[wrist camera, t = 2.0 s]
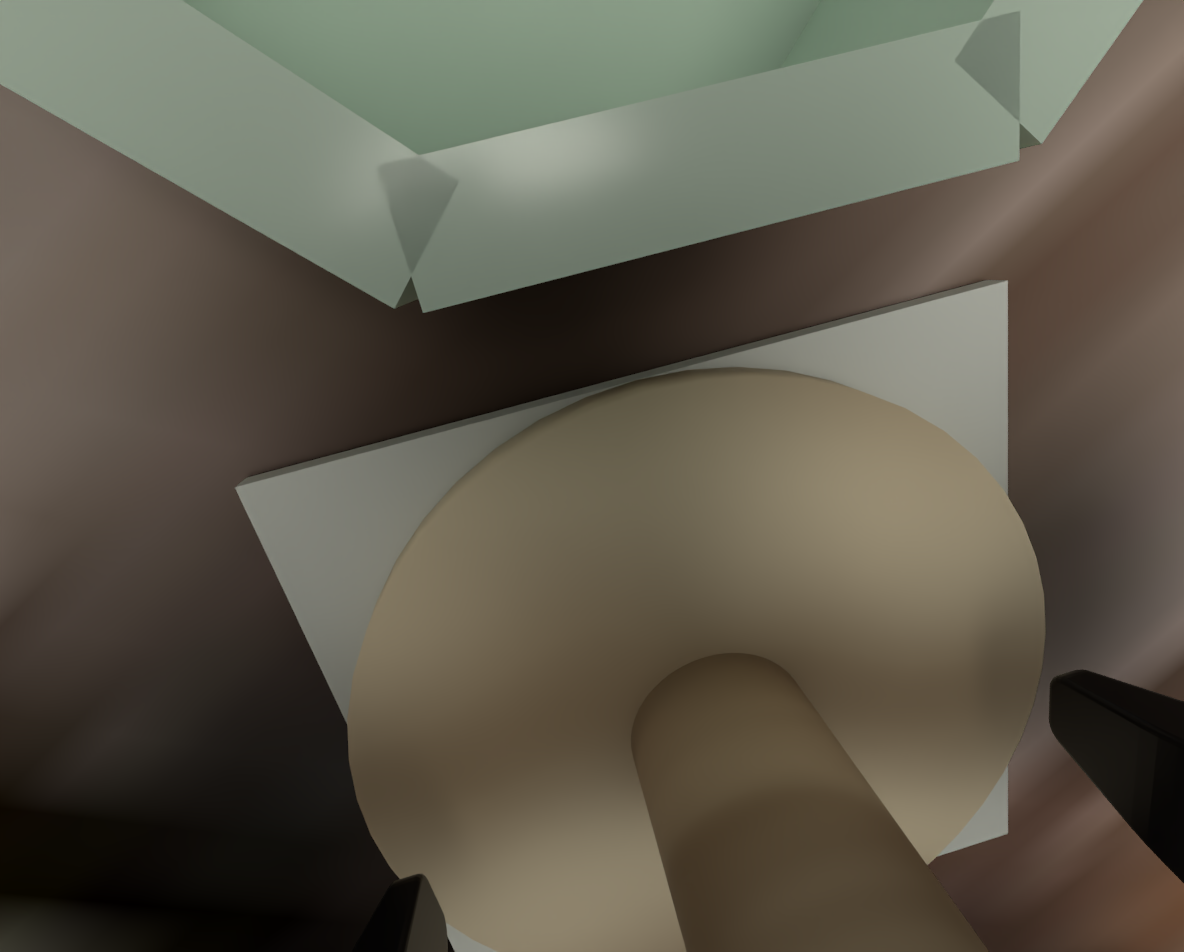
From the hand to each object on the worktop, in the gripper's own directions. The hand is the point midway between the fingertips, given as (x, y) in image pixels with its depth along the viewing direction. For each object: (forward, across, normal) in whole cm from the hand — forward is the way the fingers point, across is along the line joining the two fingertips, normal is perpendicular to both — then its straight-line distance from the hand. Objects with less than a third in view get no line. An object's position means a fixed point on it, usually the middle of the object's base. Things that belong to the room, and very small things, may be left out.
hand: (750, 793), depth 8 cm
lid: (+2, 0, 0) cm, 2 cm away
